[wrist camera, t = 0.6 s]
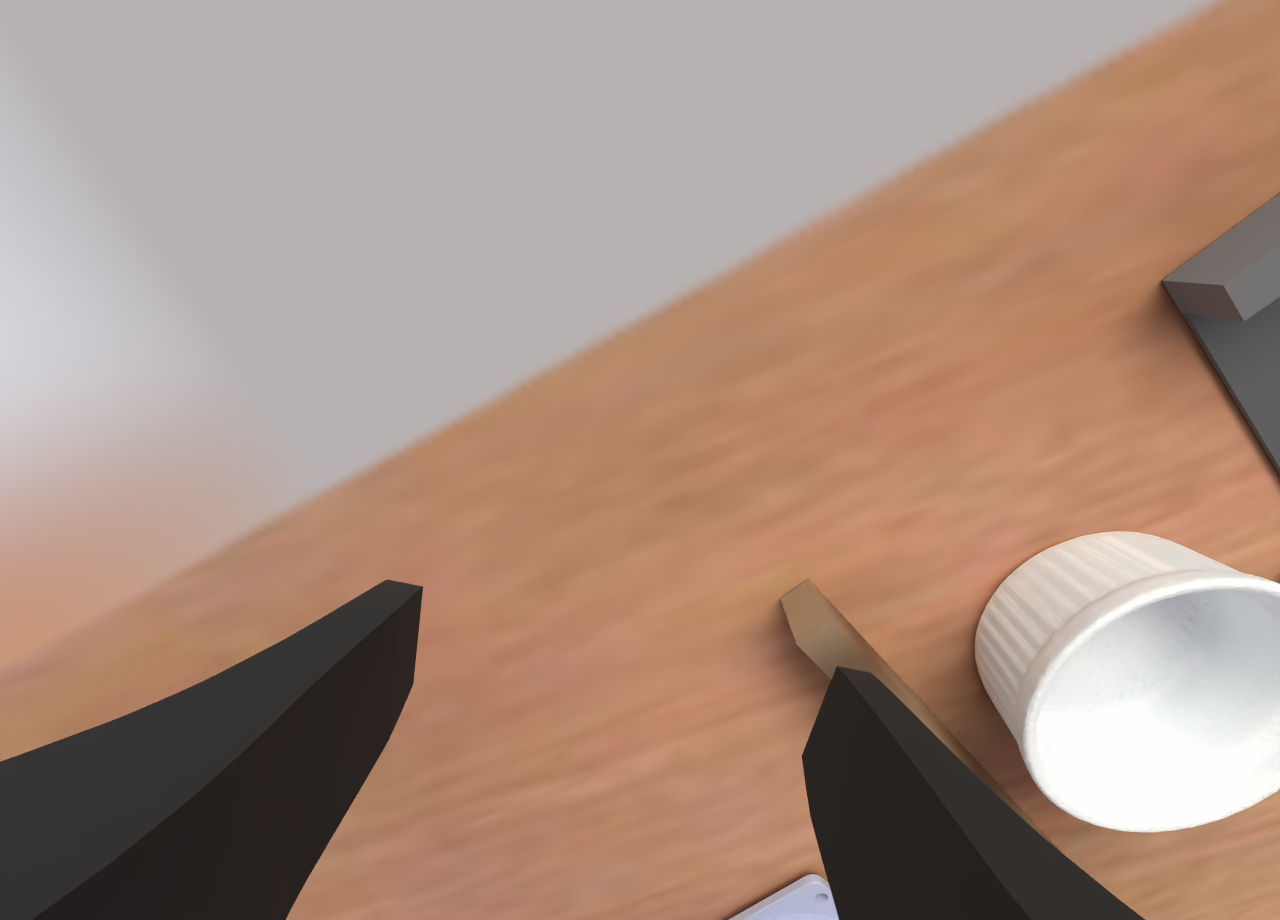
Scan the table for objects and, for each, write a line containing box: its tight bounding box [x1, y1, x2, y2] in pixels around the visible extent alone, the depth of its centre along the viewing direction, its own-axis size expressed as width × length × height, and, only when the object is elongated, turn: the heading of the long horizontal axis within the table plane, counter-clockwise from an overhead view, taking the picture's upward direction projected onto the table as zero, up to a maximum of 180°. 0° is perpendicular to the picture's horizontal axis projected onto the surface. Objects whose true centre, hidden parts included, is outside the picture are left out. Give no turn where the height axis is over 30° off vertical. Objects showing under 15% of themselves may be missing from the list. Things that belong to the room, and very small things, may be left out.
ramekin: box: [975, 531, 1280, 832], centre depth 19 cm, size 9×9×4 cm
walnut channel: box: [781, 579, 1056, 848], centre depth 22 cm, size 34×14×4 cm, turn 42°
